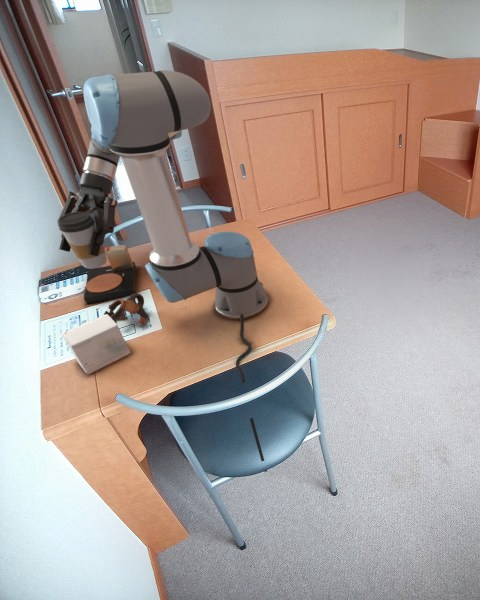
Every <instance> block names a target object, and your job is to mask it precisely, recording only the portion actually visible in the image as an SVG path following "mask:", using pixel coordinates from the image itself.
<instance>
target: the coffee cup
mask: <svg viewBox="0 0 480 600" xmlns="http://www.w3.org/2000/svg"><path fill="white" fill-rule="evenodd" d="M57 221H58V222H59V223H57V226H58V230H60V232H61V234H62V233H63V234H64V236H65V238H66V240H67V242H68V243H69V245H70V247H71V250H72V252H73V253H74V255H75V256H76V258H77V259H78V261H79V262H80V264H81V266H83V268H86V269H88V270H89V269H94V268H100V267H104V265H106V264H107V260H108V258H107V256H106V253H105V248H104V246H103V245H104V244H103V245H101V247H100V251H99V254H98V257H97V256H93V255H89V254H88V251H89V247H90V244H91V240H92V236H93V232H96V231H95V230H96V223H95V219H93V217H92V216H91V215H90V214H89V212H87V211H85V212H73V213H68V214H66V215H63V216H61V217H60V218H59V217H58V219H57ZM97 233H98V232H97Z"/></svg>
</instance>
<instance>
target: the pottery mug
mask: <svg viewBox="0 0 480 600" xmlns="http://www.w3.org/2000/svg"><path fill="white" fill-rule="evenodd" d="M136 300H137V301H136ZM144 305H145V299H144V296H143V295H142V294H141V293H140V292H136V293H135V294H132V295H131V296H128V297H127V299H124V298H118V299H115V300H114V301H113V302H112V303H110V305H109V306H108V309H109V310H105V311H104V313H103V315H105V314H108V315H109V316H110V317H111V318H112V319H113V320H114V322H115V323H116V324H117V325H118V322H117V321H119V322H120V321H123V322H125V321H127V320H128V319H129V317H127V315H126V312H127V313H129V314H130V315H135V314H136V315H139V316H140V317H139V319H138V321H137V323H138V324H139V325H141V326H142V327H145V326H146V324H147V323H148V321H149V319H150V316H149V314H148V313H147V312H146V310H145V309H144ZM116 309H117V310H116ZM115 310H116V311H115ZM114 311H115V312H114Z"/></svg>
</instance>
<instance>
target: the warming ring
mask: <svg viewBox="0 0 480 600" xmlns="http://www.w3.org/2000/svg"><path fill="white" fill-rule="evenodd" d="M121 282H122V277H121V276H120V275H118V274H103V275H100V276H97V277H95V278H93V279H91V280H90V281H89V282H88V283H87V284H86V283H85V288H86V289H87V290H88V291H90V292H94V293H101V292H106V291H109V290H112V289H114V288H116V287H117V286H119V285H120V284H121Z"/></svg>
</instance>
